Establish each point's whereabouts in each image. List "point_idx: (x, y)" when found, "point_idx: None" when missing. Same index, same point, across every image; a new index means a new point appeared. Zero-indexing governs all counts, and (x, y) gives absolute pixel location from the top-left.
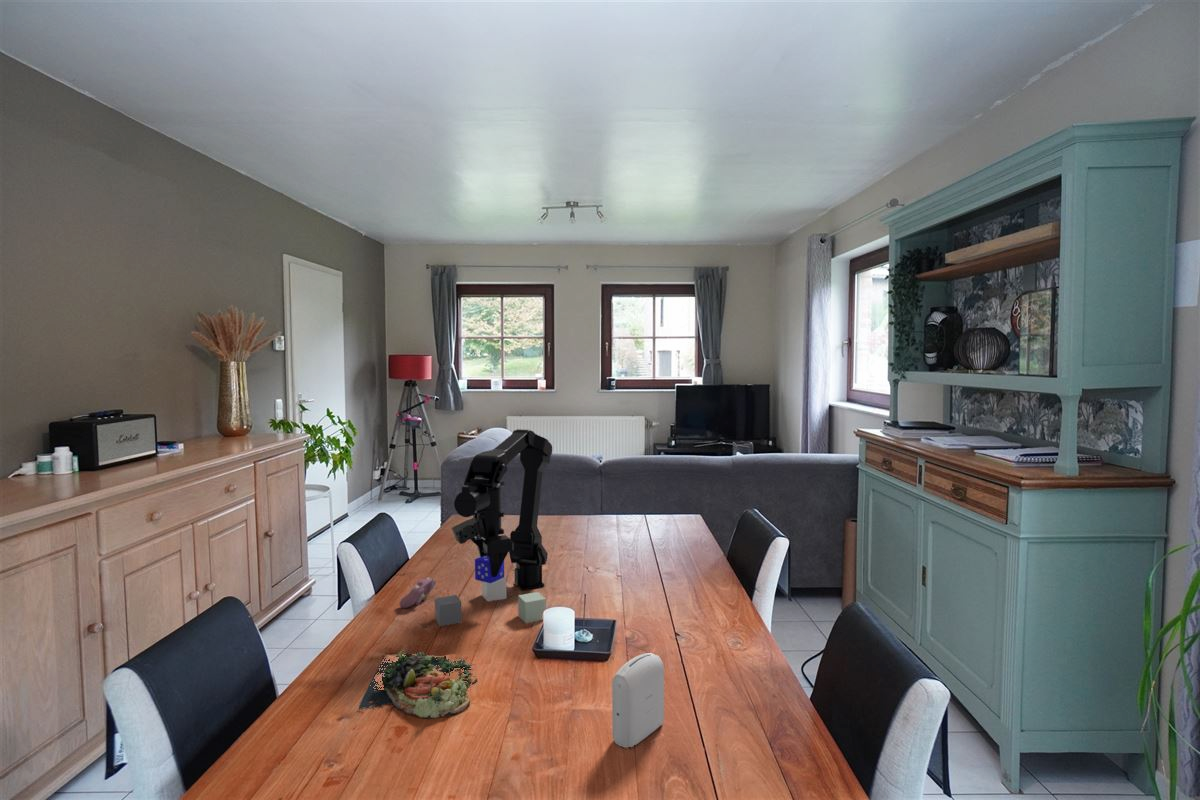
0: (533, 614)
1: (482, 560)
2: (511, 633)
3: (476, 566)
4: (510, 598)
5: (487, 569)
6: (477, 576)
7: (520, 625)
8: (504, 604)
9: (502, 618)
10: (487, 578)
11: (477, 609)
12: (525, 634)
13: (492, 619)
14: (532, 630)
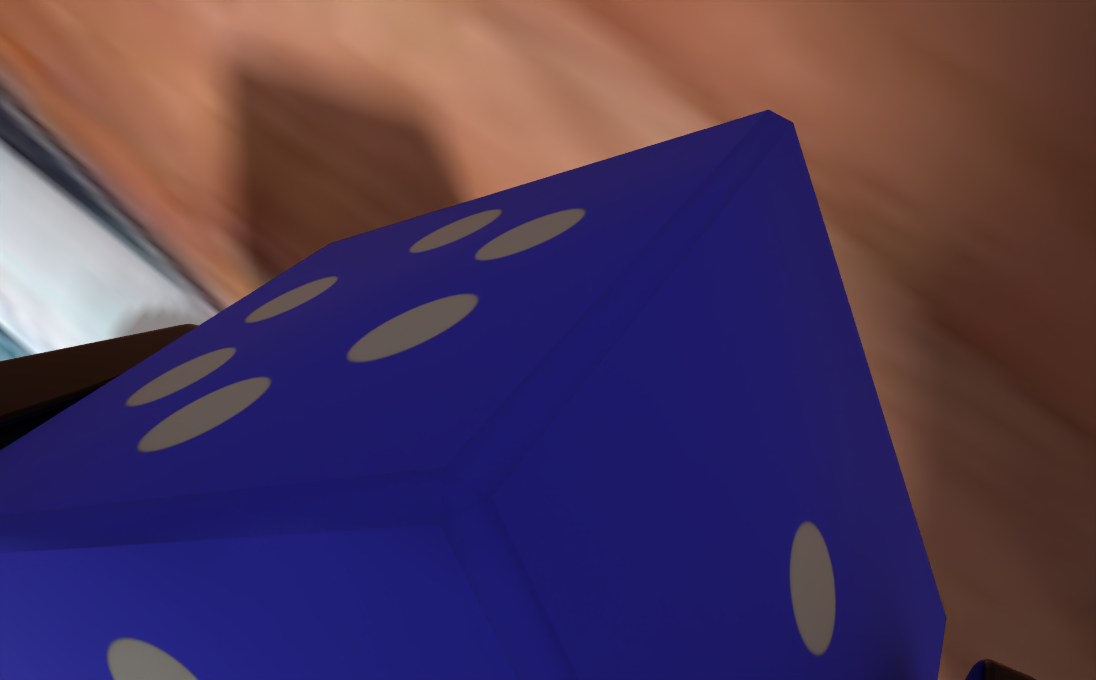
0: None
1: (102, 557)
2: (186, 15)
3: (527, 305)
4: (1056, 616)
5: (160, 382)
6: (641, 169)
7: (312, 196)
8: (933, 449)
9: (557, 167)
10: (336, 259)
11: (1092, 84)
12: (133, 108)
13: (598, 56)
14: (185, 206)
